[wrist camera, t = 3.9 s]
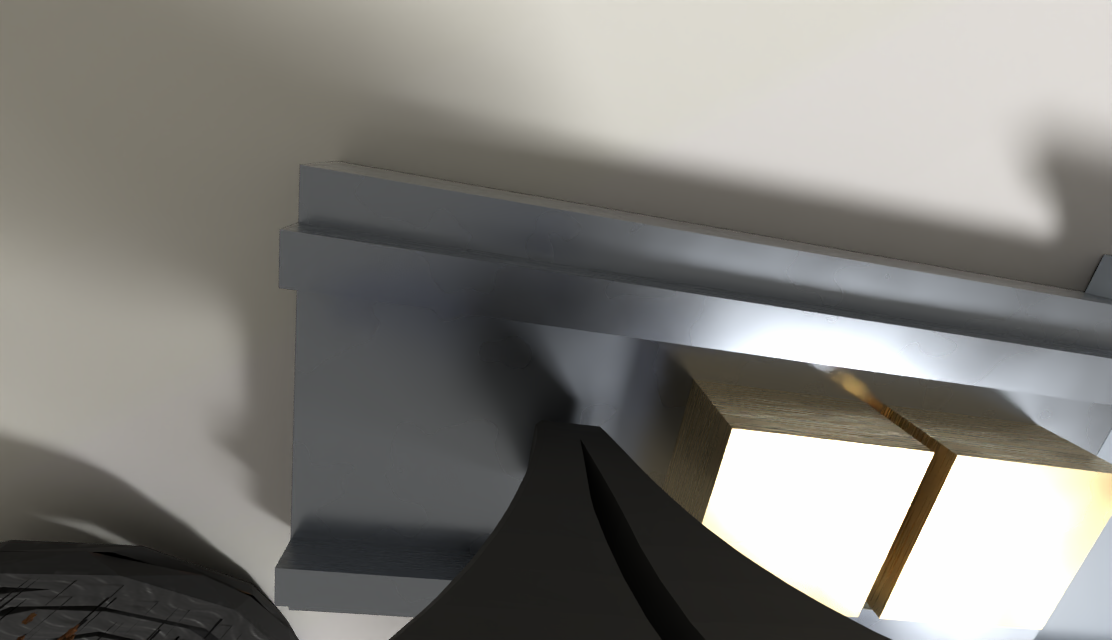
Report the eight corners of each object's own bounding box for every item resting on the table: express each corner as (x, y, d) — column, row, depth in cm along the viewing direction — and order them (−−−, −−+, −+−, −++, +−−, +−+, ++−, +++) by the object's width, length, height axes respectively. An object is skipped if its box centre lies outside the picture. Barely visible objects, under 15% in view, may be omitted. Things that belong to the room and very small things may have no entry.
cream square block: (864, 401, 11) (934, 452, 10) (805, 546, 13) (857, 617, 11) (693, 379, 11) (732, 428, 9) (650, 533, 12) (676, 604, 10)
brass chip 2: (1037, 424, 12) (1134, 476, 10) (965, 560, 13) (1041, 629, 11) (884, 404, 12) (957, 455, 10) (824, 548, 13) (879, 618, 11)
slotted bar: (1081, 291, 13) (1223, 328, 11) (928, 592, 16) (1009, 678, 14) (336, 161, 11) (280, 166, 8) (319, 546, 14) (273, 641, 11)
